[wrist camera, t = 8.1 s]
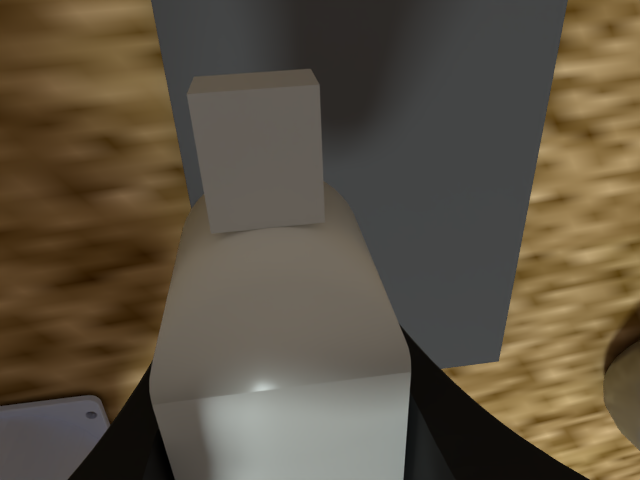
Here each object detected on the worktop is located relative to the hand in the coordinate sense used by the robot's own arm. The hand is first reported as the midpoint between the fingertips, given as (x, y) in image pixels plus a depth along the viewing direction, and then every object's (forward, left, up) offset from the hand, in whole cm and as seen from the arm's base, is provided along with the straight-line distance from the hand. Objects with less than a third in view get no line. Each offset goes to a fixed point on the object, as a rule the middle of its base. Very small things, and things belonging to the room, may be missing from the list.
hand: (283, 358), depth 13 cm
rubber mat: (-1, -4, -9) cm, 10 cm away
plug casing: (+1, 0, -1) cm, 2 cm away
